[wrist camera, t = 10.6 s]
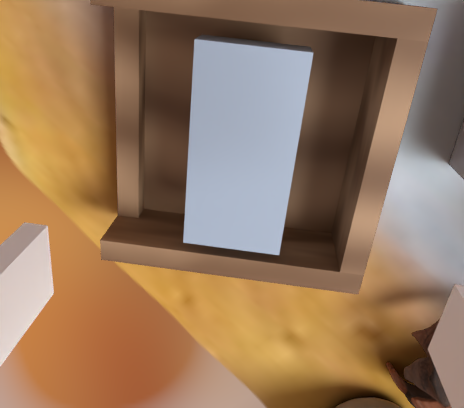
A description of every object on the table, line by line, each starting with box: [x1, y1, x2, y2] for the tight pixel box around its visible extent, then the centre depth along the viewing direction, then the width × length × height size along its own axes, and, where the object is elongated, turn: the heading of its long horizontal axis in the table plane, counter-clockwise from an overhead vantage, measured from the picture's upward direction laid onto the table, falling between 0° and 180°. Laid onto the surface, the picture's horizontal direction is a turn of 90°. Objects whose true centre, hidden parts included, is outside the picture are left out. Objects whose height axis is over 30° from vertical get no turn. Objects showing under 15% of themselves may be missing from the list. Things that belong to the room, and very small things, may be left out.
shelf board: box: [183, 35, 314, 255], centre depth 26 cm, size 12×6×2 cm, turn 174°
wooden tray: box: [90, 0, 437, 294], centre depth 28 cm, size 17×17×6 cm
